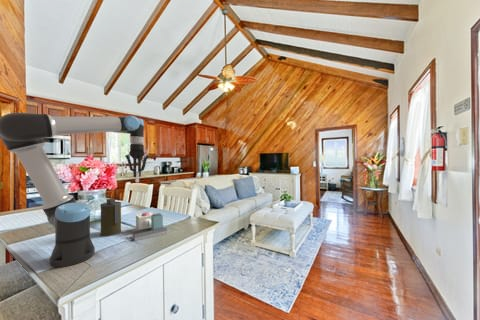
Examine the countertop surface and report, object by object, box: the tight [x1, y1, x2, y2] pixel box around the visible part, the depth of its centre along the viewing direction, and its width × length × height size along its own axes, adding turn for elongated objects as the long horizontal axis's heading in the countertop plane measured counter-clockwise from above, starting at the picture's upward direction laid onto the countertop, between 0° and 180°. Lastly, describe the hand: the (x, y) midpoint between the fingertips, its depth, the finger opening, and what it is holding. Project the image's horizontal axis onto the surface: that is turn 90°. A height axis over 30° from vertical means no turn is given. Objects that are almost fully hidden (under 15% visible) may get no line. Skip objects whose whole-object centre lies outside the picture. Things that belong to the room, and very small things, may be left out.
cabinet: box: [135, 212, 154, 230], centre depth 122 cm, size 9×9×9 cm
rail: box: [131, 227, 168, 242], centre depth 113 cm, size 17×7×3 cm, turn 130°
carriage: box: [151, 212, 164, 230], centre depth 116 cm, size 5×5×10 cm
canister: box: [99, 198, 122, 237], centre depth 116 cm, size 11×10×20 cm
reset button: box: [141, 212, 150, 216], centre depth 122 cm, size 4×4×4 cm
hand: (137, 182), depth 121 cm, fingers closed
